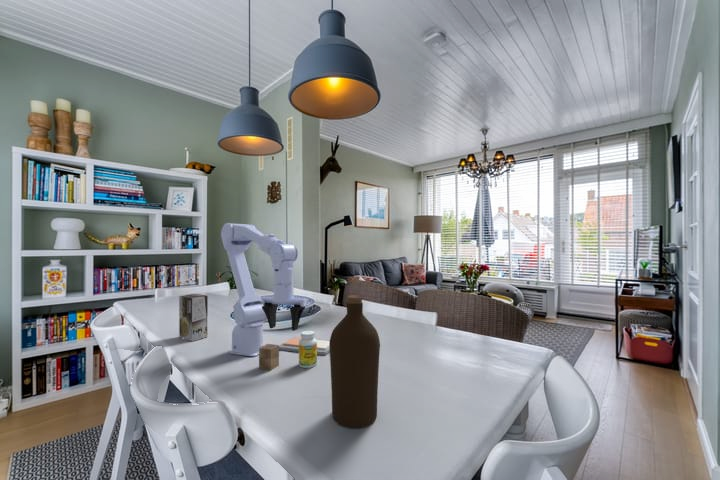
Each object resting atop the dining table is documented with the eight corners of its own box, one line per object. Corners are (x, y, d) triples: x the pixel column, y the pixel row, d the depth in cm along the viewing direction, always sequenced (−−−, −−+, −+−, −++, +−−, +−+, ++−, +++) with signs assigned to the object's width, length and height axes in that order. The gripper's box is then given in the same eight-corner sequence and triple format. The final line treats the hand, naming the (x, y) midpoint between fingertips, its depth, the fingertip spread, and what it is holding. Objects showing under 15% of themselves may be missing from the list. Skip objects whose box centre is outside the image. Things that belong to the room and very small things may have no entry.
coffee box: (208, 337, 118) (208, 295, 118) (191, 341, 112) (191, 297, 112) (195, 333, 122) (195, 293, 123) (178, 337, 117) (178, 295, 117)
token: (259, 369, 88) (259, 348, 88) (267, 363, 92) (267, 343, 92) (271, 370, 87) (271, 349, 87) (278, 365, 91) (278, 345, 91)
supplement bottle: (312, 360, 95) (312, 329, 95) (320, 365, 90) (320, 333, 91) (295, 363, 92) (296, 331, 92) (303, 369, 87) (303, 336, 88)
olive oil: (355, 438, 57) (355, 303, 57) (318, 416, 64) (319, 296, 64) (390, 414, 65) (390, 296, 65) (354, 397, 72) (354, 290, 72)
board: (277, 349, 104) (277, 344, 104) (293, 339, 115) (293, 335, 115) (325, 355, 99) (325, 350, 99) (338, 344, 109) (338, 340, 109)
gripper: (311, 282, 94) (311, 327, 94) (270, 281, 99) (270, 323, 98) (300, 286, 87) (300, 333, 87) (257, 283, 92) (256, 329, 92)
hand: (283, 328), depth 92 cm, fingers open, 7 cm apart
